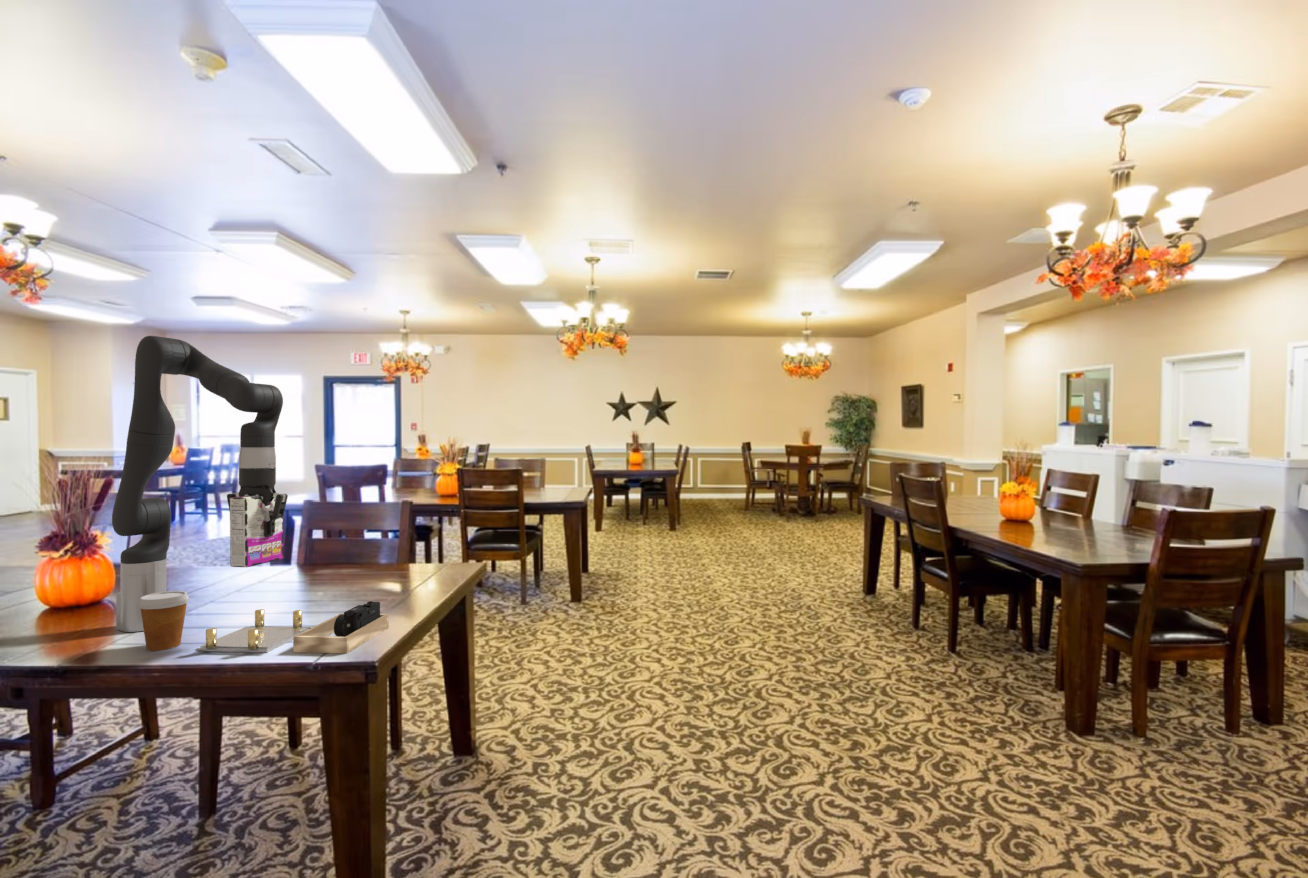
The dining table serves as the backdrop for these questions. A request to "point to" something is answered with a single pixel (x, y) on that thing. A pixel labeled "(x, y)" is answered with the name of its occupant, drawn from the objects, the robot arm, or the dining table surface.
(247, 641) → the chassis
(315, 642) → the oak frame
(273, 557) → the candy bar box
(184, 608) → the disposable coffee cup
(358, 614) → the camera
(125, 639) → the dining table surface
